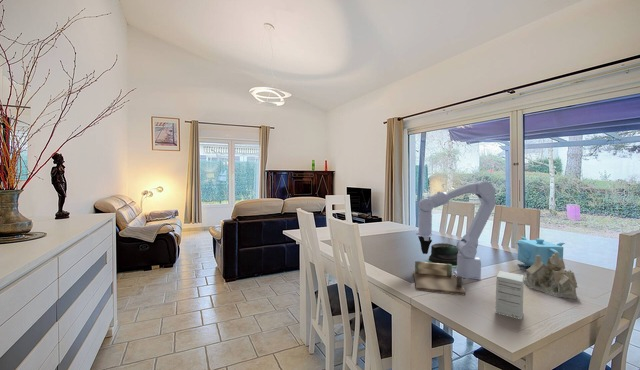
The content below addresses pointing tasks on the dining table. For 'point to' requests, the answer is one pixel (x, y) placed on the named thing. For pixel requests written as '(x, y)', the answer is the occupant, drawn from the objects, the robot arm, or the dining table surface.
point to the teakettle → (537, 250)
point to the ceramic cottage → (552, 277)
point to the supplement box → (509, 294)
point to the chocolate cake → (444, 254)
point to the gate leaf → (433, 268)
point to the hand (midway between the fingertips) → (424, 252)
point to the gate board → (439, 283)
